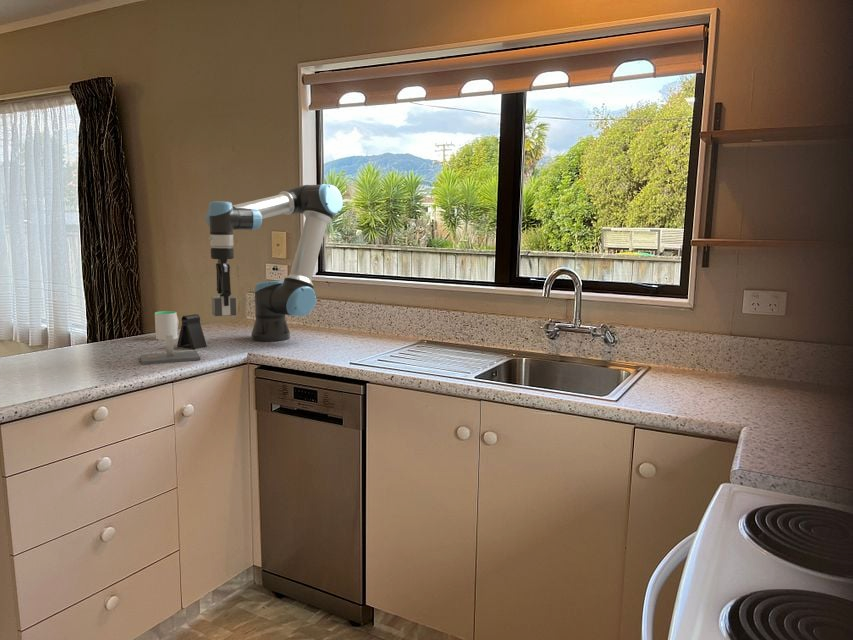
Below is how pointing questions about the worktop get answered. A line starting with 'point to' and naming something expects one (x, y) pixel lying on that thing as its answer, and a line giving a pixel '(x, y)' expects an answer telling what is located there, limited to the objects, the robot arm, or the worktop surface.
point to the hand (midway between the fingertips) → (224, 313)
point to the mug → (166, 324)
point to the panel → (170, 359)
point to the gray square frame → (218, 306)
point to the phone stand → (191, 333)
